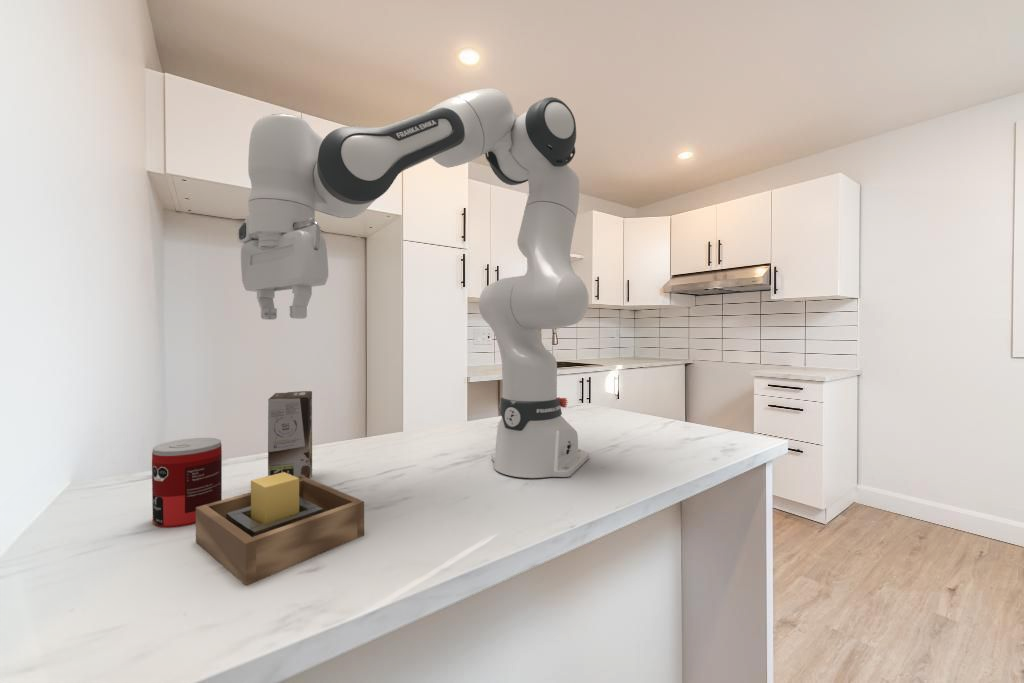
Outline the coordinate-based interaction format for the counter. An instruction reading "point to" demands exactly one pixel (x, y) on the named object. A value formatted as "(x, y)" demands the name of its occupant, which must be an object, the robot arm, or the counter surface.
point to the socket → (252, 528)
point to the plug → (274, 497)
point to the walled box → (279, 533)
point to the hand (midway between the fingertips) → (282, 319)
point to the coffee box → (290, 434)
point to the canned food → (185, 479)
